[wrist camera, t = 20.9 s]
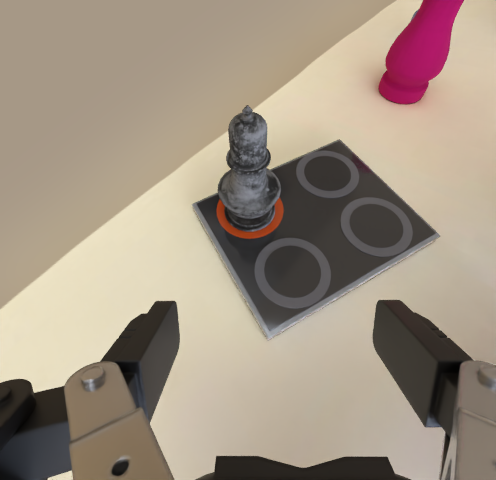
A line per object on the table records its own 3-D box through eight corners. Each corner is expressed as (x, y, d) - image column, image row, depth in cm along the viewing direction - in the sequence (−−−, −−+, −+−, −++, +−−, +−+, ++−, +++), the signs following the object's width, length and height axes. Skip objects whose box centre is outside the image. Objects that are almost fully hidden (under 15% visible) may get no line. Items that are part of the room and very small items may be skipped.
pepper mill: (375, 74, 43) (456, -144, 26) (424, 79, 42) (543, -142, 25) (374, 103, 40) (466, -125, 23) (427, 109, 39) (567, -123, 22)
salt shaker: (210, 206, 30) (186, 101, 19) (254, 179, 31) (255, 69, 21) (243, 245, 27) (237, 149, 17) (289, 214, 29) (310, 110, 18)
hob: (337, 146, 36) (340, 135, 34) (434, 241, 29) (443, 233, 27) (193, 210, 31) (190, 201, 30) (267, 341, 24) (268, 337, 23)
